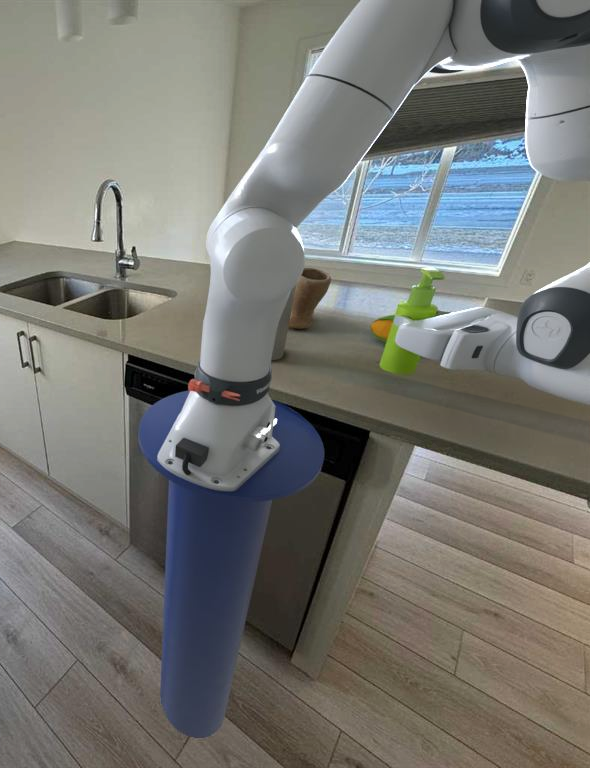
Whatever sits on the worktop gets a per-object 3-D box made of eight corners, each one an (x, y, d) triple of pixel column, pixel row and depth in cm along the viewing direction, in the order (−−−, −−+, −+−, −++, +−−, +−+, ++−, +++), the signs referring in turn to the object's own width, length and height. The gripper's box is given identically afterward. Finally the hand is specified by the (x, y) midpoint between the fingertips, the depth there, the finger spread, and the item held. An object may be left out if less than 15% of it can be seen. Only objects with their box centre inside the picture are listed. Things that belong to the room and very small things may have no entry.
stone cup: (318, 334, 106) (331, 278, 99) (269, 328, 112) (278, 275, 104) (322, 315, 117) (334, 263, 110) (278, 310, 123) (286, 261, 115)
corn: (386, 304, 100) (488, 328, 85) (378, 332, 104) (474, 359, 89) (367, 313, 98) (469, 339, 82) (360, 341, 102) (456, 371, 86)
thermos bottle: (241, 351, 102) (256, 235, 88) (265, 343, 104) (284, 230, 90) (265, 363, 95) (285, 240, 81) (290, 355, 97) (314, 234, 84)
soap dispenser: (385, 376, 79) (418, 275, 69) (375, 360, 85) (405, 264, 75) (421, 378, 78) (461, 275, 68) (409, 361, 83) (443, 264, 73)
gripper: (550, 313, 66) (459, 291, 77) (457, 335, 61) (374, 308, 73) (532, 348, 69) (446, 322, 80) (441, 372, 64) (364, 340, 76)
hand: (411, 315), depth 77 cm, fingers closed on soap dispenser, 6 cm apart
